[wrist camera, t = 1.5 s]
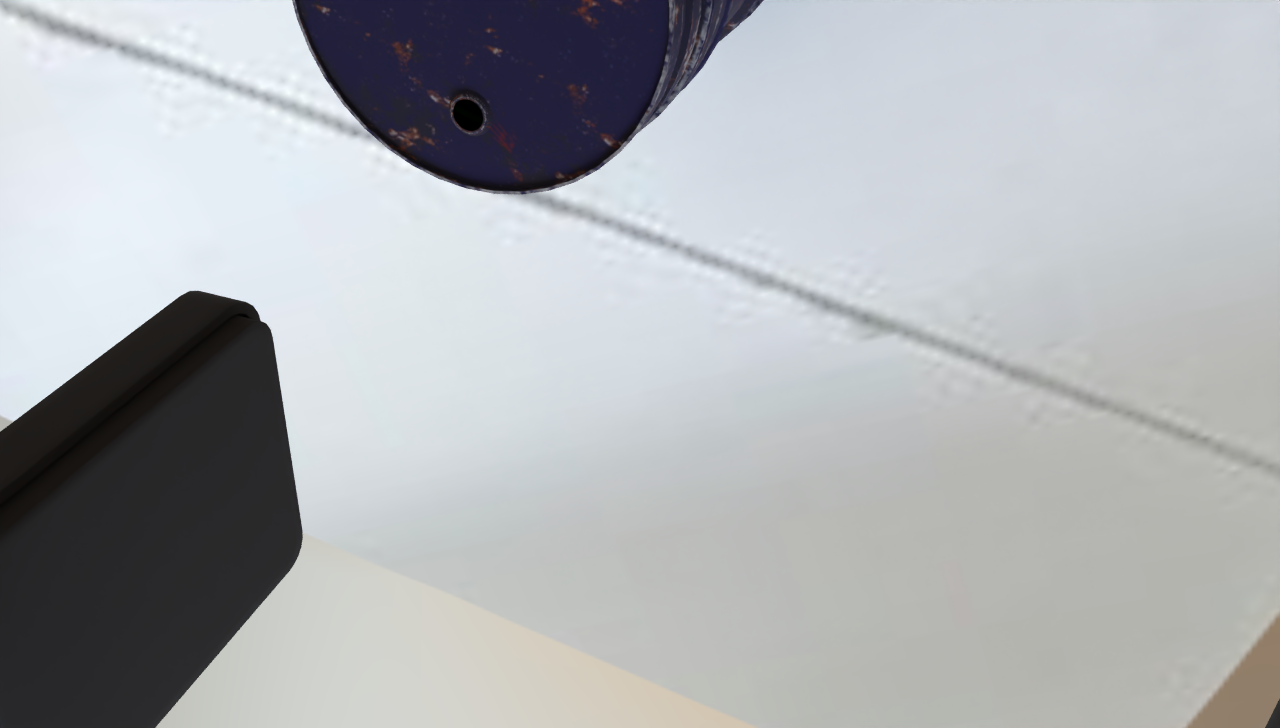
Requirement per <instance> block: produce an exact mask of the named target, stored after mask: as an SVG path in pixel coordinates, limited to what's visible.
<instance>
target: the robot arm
mask: <svg viewBox="0 0 1280 728" xmlns="http://www.w3.org/2000/svg"><path fill="white" fill-rule="evenodd" d="M302 538H303V537H302V525H301V518H300V512H299V505H298V499H297V492H296V486H295V480H294V473H293V467H292V460H291V454H290V447H289V441H288V434H287V428H286V421H285V415H284V408H283V402H282V395H281V389H280V382H279V376H278V369H277V363H276V356H275V350H274V343H273V337H272V333H271V330H270V328H269V327H268V325H267V324H266V323H264V322H262V321H260V318H259V314H258V312H257V311H256V309H255V308H254V307H253V306H252V305H250V304H248V303H247V302H243V301H239V300H235V299H231V298H226V297H222V296H218V295H214V294H210V293H206V292H201V291H189V292H187V293H185V294H183V295H181V296H180V297H179V298H177V299H176V300H175V301H173V302H172V303H171V304H169V305H168V306H167V307H165V308H164V309H163V310H161V311H160V312H159V313H157V314H156V315H155V316H153V317H152V318H151V319H149V320H148V321H147V322H145V323H144V324H143V325H141V326H140V327H139V328H137V329H136V330H135V331H133V332H132V333H131V334H129V335H128V336H127V337H125V338H124V339H123V340H121V341H120V342H119V343H118V344H116V345H115V346H114V347H112V348H111V349H110V350H108V351H107V352H106V353H104V354H103V355H102V356H100V357H99V358H98V359H96V360H95V361H94V362H92V363H91V364H90V365H88V366H87V367H86V368H84V369H83V370H82V371H80V372H79V373H78V374H76V375H75V376H74V377H72V378H71V379H70V380H68V381H67V382H66V383H64V384H63V385H62V386H60V387H59V388H58V389H57V390H55V391H54V392H53V393H51V394H50V395H49V396H47V397H46V398H45V399H43V400H42V401H41V402H39V403H38V404H37V405H35V406H34V407H33V408H31V409H30V410H29V411H27V412H26V413H25V414H23V415H22V416H21V417H19V418H18V419H17V420H15V421H14V422H13V423H11V424H10V425H9V426H7V428H5V429H3V430H2V431H1V432H0V728H155V727H156V726H157V725H158V724H159V723H160V721H161V720H162V719H163V718H164V717H165V716H166V714H167V713H168V712H169V711H170V710H171V709H172V707H173V706H174V705H175V704H176V702H178V700H179V699H180V698H181V697H182V696H183V695H184V693H185V692H186V691H187V690H188V689H189V688H190V686H191V685H192V684H193V683H194V682H195V680H196V679H197V678H198V677H199V676H200V675H201V674H202V672H203V671H204V670H205V669H206V668H207V667H208V665H209V664H210V663H211V662H212V661H213V660H214V658H215V657H216V656H217V655H218V654H219V653H220V651H221V650H222V649H223V648H224V647H225V646H226V644H227V643H228V642H229V641H230V640H231V639H232V637H233V636H234V635H235V634H236V632H237V631H238V630H239V629H240V628H241V627H242V626H243V624H244V623H245V622H246V621H247V620H248V619H249V617H250V616H251V615H252V614H253V613H254V611H255V610H256V609H257V608H258V607H259V605H261V603H262V602H263V601H264V600H265V599H266V598H267V596H268V595H269V594H270V593H271V592H272V590H273V589H274V588H275V587H276V586H277V585H278V584H279V582H280V581H281V580H282V579H283V578H284V577H285V575H286V574H287V573H288V572H289V571H290V569H291V568H292V566H293V565H294V563H295V561H296V559H297V557H298V555H299V552H300V549H301V545H302ZM1265 728H1280V699H1279V701H1278V703H1277V705H1276V707H1275V709H1274V711H1273V713H1272V715H1271V717H1270V719H1269V721H1268V724H1267V725H1266V727H1265Z"/></svg>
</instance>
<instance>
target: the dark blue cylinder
mask: <svg viewBox="0 0 1280 728" xmlns="http://www.w3.org/2000/svg"><path fill="white" fill-rule="evenodd" d="M292 1H293V5H294V9H295V13H296V16H297V20H298V22H299V25H300V27H301V30H302V32H303V35H304V37H305V40H306V42H307V45H308V47H309V50H310V52H311V54H312V55H313V57H314V59H315V61H316V63H317V65H318V66H319V68H320V70H321V72H322V74H323V76H324V78H325V79H326V81H327V82H328V83H329V85H330V86H331V88H332V89H333V90H334V92H335V93H336V95H337V96H338V98H339V99H340V100H341V102H342V103H343V105H344V106H345V107H346V108H347V109H348V110H349V111H350V112H351V114H352V115H353V116H354V117H355V118H356V119H357V120H358V121H359V123H360V124H361V125H362V126H363V127H364V128H365V129H366V130H367V131H368V132H370V133H371V134H372V135H373V136H374V137H375V138H376V139H377V140H379V141H380V142H381V143H382V144H383V145H384V146H385V147H387V148H388V149H389V150H391V151H392V152H394V153H395V154H397V155H398V156H399V157H401V158H402V159H404V160H405V161H407V162H408V163H410V164H411V165H413V166H415V167H417V168H419V169H421V170H423V171H424V172H426V173H428V174H430V175H432V176H434V177H436V178H438V179H441V180H444V181H447V182H450V183H452V184H455V185H458V186H461V187H464V188H467V189H473V190H478V191H483V192H489V193H494V194H528V193H535V192H543V191H549V190H552V189H555V188H559V187H562V186H565V185H568V184H571V183H574V182H576V181H578V180H580V179H582V178H584V177H585V176H587V175H589V174H591V173H593V172H595V171H597V170H598V169H600V168H601V167H602V166H603V165H605V164H606V163H607V162H608V161H610V160H611V159H612V158H613V157H615V156H616V155H617V154H618V153H620V152H621V151H622V149H623V148H624V147H625V146H626V145H627V144H628V143H629V142H630V141H631V140H632V138H633V137H634V136H635V135H636V134H637V133H638V132H639V131H641V130H642V129H643V128H644V127H645V126H647V125H648V124H649V123H650V122H652V121H653V120H654V119H655V118H657V117H658V116H659V115H660V114H661V113H662V112H663V111H664V110H665V108H666V107H667V106H668V105H669V104H670V103H671V102H672V101H673V99H674V98H675V97H676V96H677V95H678V94H679V93H680V91H682V90H683V89H684V88H685V87H686V86H687V85H688V84H689V83H690V81H691V80H692V79H693V78H694V77H695V76H696V75H697V73H698V72H699V71H700V70H701V69H702V68H703V66H704V65H705V63H706V61H707V60H708V58H709V56H710V55H711V53H712V51H713V50H714V48H715V46H716V45H717V43H718V42H719V41H721V40H722V39H723V38H724V37H725V36H727V35H728V34H729V33H730V32H731V31H732V30H734V29H735V28H736V27H737V26H738V25H739V24H740V23H741V22H743V21H744V20H745V19H746V18H747V17H749V16H750V15H751V14H752V13H753V12H754V11H755V9H756V8H757V7H758V6H759V5H760V4H761V3H762V2H763V0H292Z"/></svg>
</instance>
